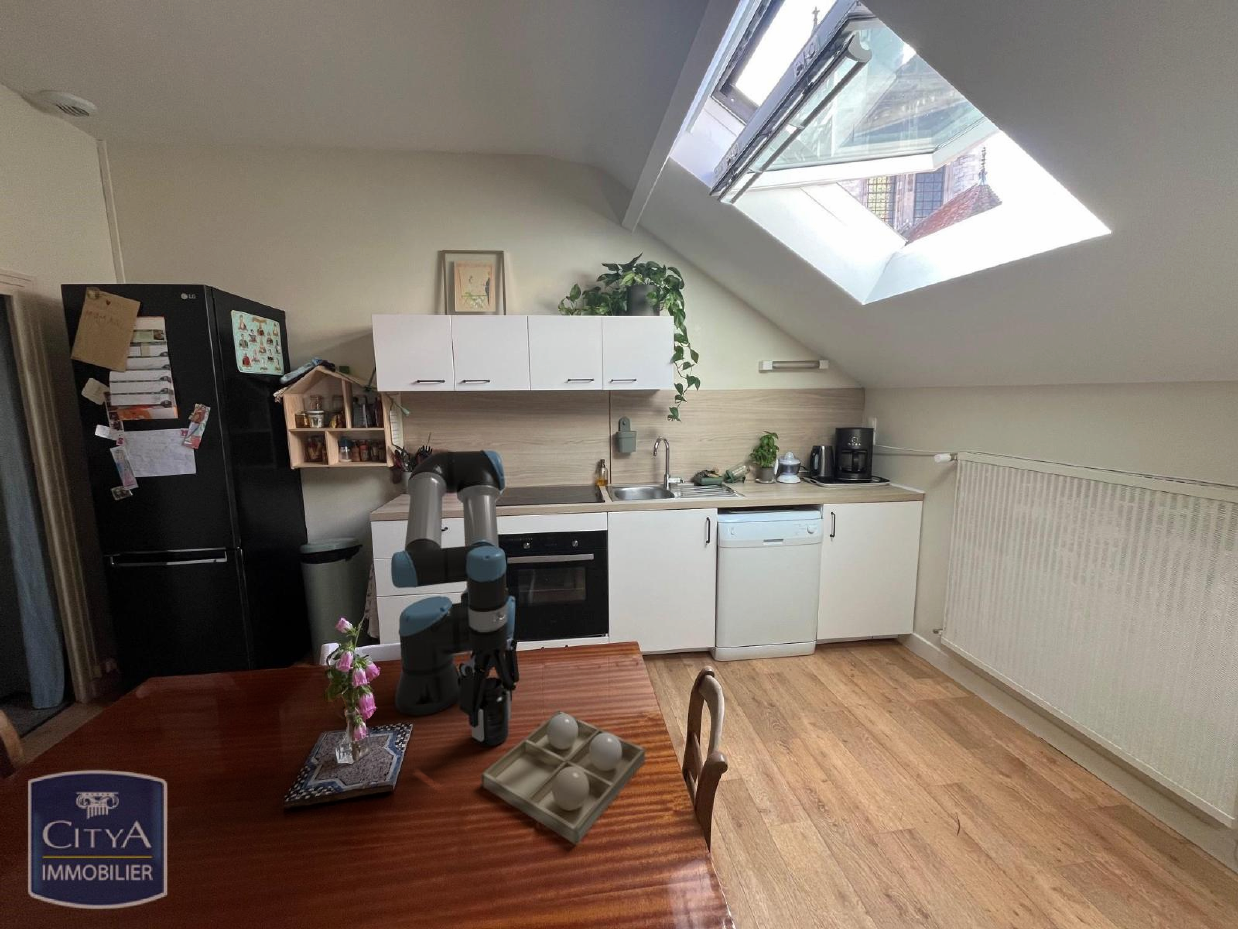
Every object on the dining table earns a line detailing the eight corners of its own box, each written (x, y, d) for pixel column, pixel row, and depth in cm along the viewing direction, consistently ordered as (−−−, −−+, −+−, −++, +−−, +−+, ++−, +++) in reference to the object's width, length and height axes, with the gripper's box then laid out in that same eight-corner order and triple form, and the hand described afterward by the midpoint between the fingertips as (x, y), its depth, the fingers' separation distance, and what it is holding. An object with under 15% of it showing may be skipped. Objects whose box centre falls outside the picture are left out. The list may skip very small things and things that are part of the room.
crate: (482, 791, 89) (481, 773, 89) (559, 725, 107) (559, 710, 107) (576, 850, 78) (576, 831, 77) (645, 765, 96) (645, 749, 95)
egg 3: (582, 770, 93) (581, 739, 92) (601, 750, 98) (601, 721, 97) (609, 785, 90) (609, 753, 89) (628, 763, 95) (628, 733, 94)
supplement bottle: (513, 726, 105) (511, 675, 104) (502, 749, 99) (501, 694, 97) (482, 724, 106) (480, 673, 104) (470, 746, 99) (467, 692, 98)
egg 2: (544, 809, 84) (544, 775, 83) (568, 785, 90) (567, 753, 89) (573, 827, 81) (573, 791, 80) (596, 800, 86) (596, 767, 85)
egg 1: (540, 749, 99) (539, 719, 98) (560, 731, 104) (560, 703, 103) (564, 761, 95) (564, 731, 94) (584, 742, 101) (584, 714, 100)
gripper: (461, 650, 88) (466, 764, 92) (535, 610, 105) (537, 708, 108) (434, 639, 92) (440, 748, 96) (510, 602, 109) (513, 697, 112)
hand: (492, 727), depth 102 cm, fingers closed on supplement bottle, 7 cm apart
